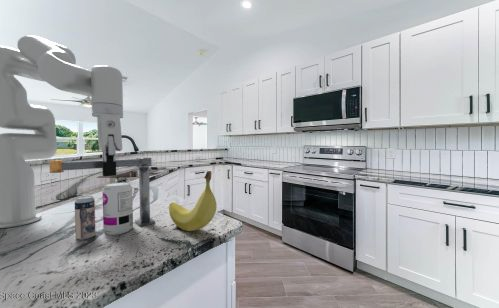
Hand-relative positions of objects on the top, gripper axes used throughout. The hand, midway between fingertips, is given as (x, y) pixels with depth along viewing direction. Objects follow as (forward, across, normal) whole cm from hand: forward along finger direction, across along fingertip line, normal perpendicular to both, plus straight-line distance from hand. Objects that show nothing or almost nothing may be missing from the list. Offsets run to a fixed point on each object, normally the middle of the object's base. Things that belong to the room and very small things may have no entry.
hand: (109, 175), depth 64 cm
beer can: (+19, +6, +6) cm, 21 cm away
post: (+19, +8, -11) cm, 23 cm away
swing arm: (-1, +7, 0) cm, 7 cm away
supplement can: (+19, +6, -3) cm, 20 cm away
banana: (+19, -8, -21) cm, 29 cm away
